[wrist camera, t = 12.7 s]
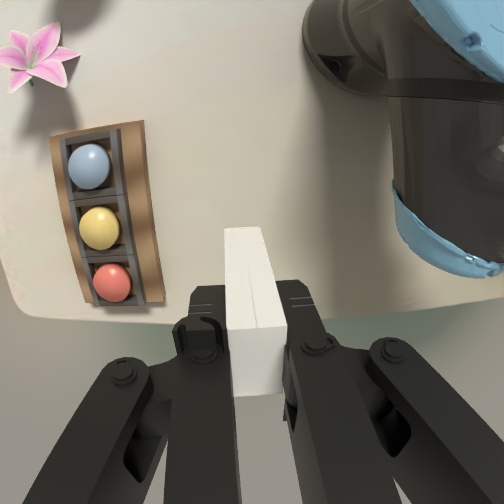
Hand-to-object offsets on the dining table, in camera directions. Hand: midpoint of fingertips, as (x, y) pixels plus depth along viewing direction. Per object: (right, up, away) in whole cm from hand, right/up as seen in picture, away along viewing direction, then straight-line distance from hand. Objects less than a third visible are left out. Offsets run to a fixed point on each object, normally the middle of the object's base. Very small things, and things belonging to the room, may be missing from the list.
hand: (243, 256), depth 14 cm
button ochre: (-18, +3, +21) cm, 28 cm away
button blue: (-18, +10, +18) cm, 27 cm away
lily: (-25, +24, +14) cm, 37 cm away
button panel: (-18, +5, +23) cm, 30 cm away
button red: (-17, -3, +24) cm, 30 cm away
